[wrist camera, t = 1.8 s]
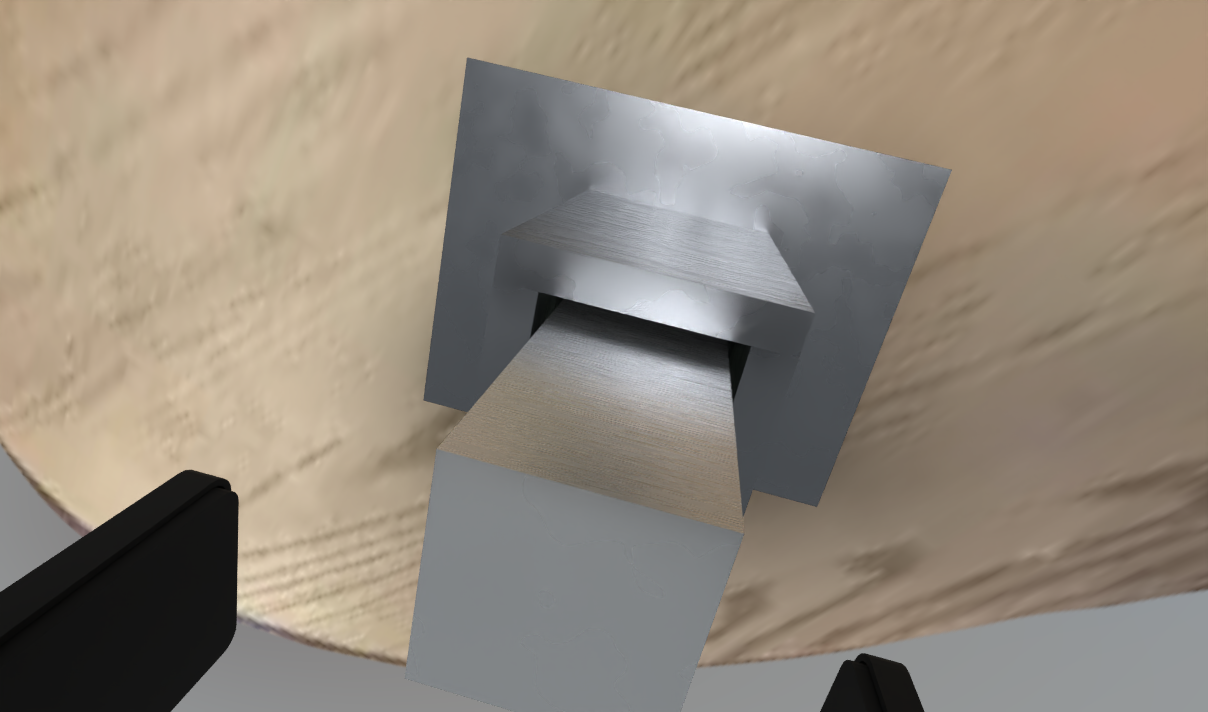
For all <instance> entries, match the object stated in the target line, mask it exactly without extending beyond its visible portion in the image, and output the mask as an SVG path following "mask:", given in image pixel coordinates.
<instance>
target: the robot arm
mask: <svg viewBox="0 0 1208 712" xmlns="http://www.w3.org/2000/svg"><path fill="white" fill-rule="evenodd" d="M238 504H239V501H238V495H237V494H236V493H235V492H233V491H231V485H230V483H229V481H228V480H226V479H223V478H220V477H216V476H212V475H209V474H205V473H201V472H198V471H194V470H185V471H183V472H181V473H179V474H177V475H176V476H174V477H173V478H171V479H170V480H168V481H167V482H165V483H164V484H162V485H161V486H159V487H158V488H156V489H155V490H153V491H152V492H150V493H149V494H147V495H146V496H144V497H143V498H141V499H140V500H138V501H137V502H135V503H134V504H132V505H131V506H129V507H128V508H126V509H125V510H123V511H122V512H120V513H119V514H117V515H116V516H114V517H113V518H111V519H110V520H108V521H107V522H105V523H104V524H102V525H101V526H99V527H97V528H96V529H94V530H93V531H91V532H90V533H88V534H87V535H85V536H84V537H82V538H81V539H79V540H78V541H76V542H75V543H73V544H72V545H70V546H69V547H67V548H66V549H64V550H63V551H61V552H60V553H59V554H57V555H55V556H54V557H52V558H51V559H49V560H48V561H46V562H45V563H43V564H42V565H40V566H39V567H37V568H36V569H34V570H33V571H31V572H30V573H28V574H27V575H25V576H24V577H22V578H21V579H19V580H18V581H16V582H15V583H13V584H12V585H10V586H9V587H7V588H6V589H4V590H3V591H1V592H0V712H171V711H172V710H173V708H174V707H175V706H176V705H177V704H178V703H179V702H180V701H181V699H182V698H183V697H184V696H185V695H186V694H187V693H188V692H189V691H190V690H191V688H192V687H193V686H194V685H195V684H196V682H198V681H199V680H200V678H201V677H202V676H203V675H204V674H205V673H206V672H207V671H208V669H210V667H211V666H212V665H213V664H214V663H215V662H216V661H217V660H218V659H219V657H220V656H221V655H222V654H223V653H224V652H225V650H226V649H227V648H228V646H229V645H230V643H231V641H232V639H233V637H234V634H235V630H236V621H237V562H238ZM820 712H924V710H923V707H922V705H921V702H920V699H919V697H918V694H917V692H916V689H915V687H914V685H913V682H912V679H911V677H910V674H909V672H908V670H907V668H906V667H905V666H904V665H903V664H901V663H898V662H894V661H891V660H887V659H883V658H880V657H876V656H872V655H869V654H865V653H864V654H863V653H862V654H860V655H858V656H857V658H856V659H855V661H851V660H846V661H844V662H843V664H842V666H841V668H840V670H839V672H838V674H837V676H836V679H835V681H834V683H833V685H832V687H831V689H830V692H829V694H828V696H827V698H826V700H825V702H824V705H823V707H822V709H821V711H820Z"/></svg>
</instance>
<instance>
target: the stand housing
mask: <svg viewBox="0 0 1208 712" xmlns="http://www.w3.org/2000/svg"><path fill="white" fill-rule="evenodd" d="M951 171H952V170H950V169H946V168H942V167H937V166H933V165H929V164H924V163H920V162H916V161H911V160H907V159H903V158H898V157H894V156H890V155H886V154H881V153H877V152H873V151H868V150H864V149H860V148H855V147H851V146H847V145H842V144H838V143H834V142H829V141H825V140H821V139H817V138H812V137H808V136H804V135H799V134H795V133H791V132H786V131H782V130H778V129H773V128H769V127H765V126H760V125H756V124H752V123H747V122H743V121H739V120H735V119H730V118H726V117H722V116H717V115H713V114H709V113H704V112H700V111H696V110H691V109H687V108H683V107H678V106H674V105H670V104H666V103H661V102H657V101H653V100H648V99H644V98H640V97H635V96H631V95H627V94H622V93H618V92H614V91H609V90H605V89H601V88H597V87H592V86H588V85H584V84H579V83H575V82H571V81H566V80H562V79H558V78H553V77H549V76H545V75H540V74H536V73H532V72H528V71H523V70H519V69H515V68H510V67H506V66H502V65H497V64H493V63H489V62H484V61H480V60H476V59H471V58H467V63H466V71H465V78H464V86H463V94H462V102H461V110H460V118H459V126H458V133H457V141H456V149H455V157H454V165H453V173H452V181H451V188H450V196H449V204H448V212H447V220H446V228H445V236H444V243H443V251H442V259H441V267H440V275H439V283H438V291H437V298H436V306H435V314H434V322H433V330H432V338H431V346H430V353H429V361H428V369H427V377H426V385H425V393H424V400H425V401H428V402H432V403H436V404H439V405H443V406H447V407H450V408H454V409H458V410H461V411H465V412H468V411H469V410H470V409H471V408H472V407H473V406H474V404H475V403H476V402H477V401H478V400H479V398H480V397H481V396H482V395H483V394H484V393H485V391H486V390H487V389H488V388H489V387H490V386H491V384H492V383H493V382H494V381H495V380H496V378H497V377H498V376H499V375H500V374H501V373H502V371H503V370H504V369H505V368H506V367H507V366H508V364H509V363H510V362H511V361H512V360H513V358H514V357H515V356H516V355H517V354H518V353H519V351H520V350H521V349H522V348H523V347H524V345H525V344H526V343H527V342H528V341H529V340H530V338H531V337H532V336H533V335H534V334H535V333H536V331H537V330H538V329H539V328H540V327H541V325H542V324H543V323H544V322H545V321H546V320H547V318H548V317H549V316H550V315H551V314H552V313H553V311H554V310H555V309H556V308H557V307H558V305H559V304H560V303H561V302H562V301H563V300H564V298H565V299H568V300H572V301H576V302H580V303H584V304H588V305H592V306H596V307H600V308H604V309H608V310H612V311H615V312H619V313H623V314H627V315H631V316H635V317H639V318H643V319H647V320H651V321H655V322H658V323H662V324H666V325H670V326H674V327H678V328H682V329H686V330H690V331H694V332H698V333H701V334H705V335H709V336H713V337H717V338H721V339H725V340H727V348H728V359H729V370H730V381H731V393H732V404H733V415H734V426H735V437H736V448H737V460H738V471H739V482H740V493H741V504H742V515H743V516H744V513H745V510H746V507H747V505H748V502H749V499H750V496H751V493H752V490H757V491H760V492H764V493H768V494H771V495H775V496H779V497H783V498H786V499H790V500H794V501H797V502H801V503H805V504H808V505H812V506H816V507H817V506H818V503H819V501H820V498H821V496H822V493H823V491H824V488H825V486H826V483H827V481H828V478H829V476H830V473H831V471H832V468H833V466H834V463H835V461H836V458H837V456H838V453H839V451H840V448H841V446H842V443H843V441H844V438H845V436H846V433H847V431H848V428H849V426H850V423H851V421H852V418H853V416H854V413H855V411H856V408H857V406H858V403H859V401H860V398H861V396H862V393H863V391H864V388H865V386H866V383H867V381H868V378H869V376H870V373H871V371H872V368H873V366H874V363H875V361H876V358H877V356H878V353H879V351H880V348H881V346H882V343H883V341H884V338H885V336H886V333H887V331H888V328H889V326H890V323H891V321H892V318H893V316H894V313H895V311H896V308H897V306H898V303H899V301H900V298H901V296H902V293H903V291H904V288H905V286H906V283H907V281H908V278H909V276H910V273H911V271H912V268H913V266H914V263H915V261H916V258H917V256H918V253H919V251H920V248H921V246H922V243H923V241H924V238H925V236H926V233H927V231H928V228H929V226H930V223H931V221H932V218H933V216H934V213H935V211H936V208H937V206H938V203H939V201H940V198H941V196H942V193H943V191H944V188H945V186H946V183H947V181H948V178H949V176H950V173H951Z"/></svg>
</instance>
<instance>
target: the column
mask: <svg viewBox="0 0 1208 712" xmlns="http://www.w3.org/2000/svg"><path fill="white" fill-rule="evenodd" d="M743 536H744V527H743V515H742V504H741V493H740V482H739V471H738V460H737V448H736V437H735V426H734V415H733V404H732V393H731V381H730V370H729V359H728V348H727V340H725V339H721V338H717V337H713V336H709V335H705V334H701V333H698V332H694V331H690V330H686V329H682V328H678V327H674V326H670V325H666V324H662V323H658V322H655V321H651V320H647V319H643V318H639V317H635V316H631V315H627V314H623V313H619V312H615V311H612V310H608V309H604V308H600V307H596V306H592V305H588V304H584V303H580V302H576V301H572V300H568V299H565V298H564V300H563V301H562V302H561V303H560V304H559V305H558V307H557V308H556V309H555V310H554V311H553V313H552V314H551V315H550V316H549V317H548V318H547V320H546V321H545V322H544V323H543V324H542V325H541V327H540V328H539V329H538V330H537V331H536V333H535V334H534V335H533V336H532V337H531V338H530V340H529V341H528V342H527V343H526V344H525V345H524V347H523V348H522V349H521V350H520V351H519V353H518V354H517V355H516V356H515V357H514V358H513V360H512V361H511V362H510V363H509V364H508V366H507V367H506V368H505V369H504V370H503V371H502V373H501V374H500V375H499V376H498V377H497V378H496V380H495V381H494V382H493V383H492V384H491V386H490V387H489V388H488V389H487V390H486V391H485V393H484V394H483V395H482V396H481V397H480V398H479V400H478V401H477V402H476V403H475V404H474V406H473V407H472V408H471V409H470V410H469V411H468V413H467V414H466V415H465V416H464V417H463V419H462V420H461V421H460V422H459V423H458V424H457V426H456V427H455V428H454V429H453V430H452V431H451V433H450V434H449V435H448V436H447V437H446V439H445V440H444V441H443V442H442V443H441V444H440V446H439V447H438V448H437V450H436V457H435V464H434V472H433V479H432V486H431V493H430V500H429V507H428V514H427V522H426V529H425V536H424V543H423V550H422V557H421V565H420V572H419V579H418V586H417V593H416V600H415V608H414V615H413V622H412V629H411V636H410V643H409V651H408V658H407V665H406V672H405V679H408V680H411V681H415V682H418V683H421V684H424V685H428V686H431V687H434V688H438V689H441V690H444V691H448V692H451V693H455V694H458V695H461V696H464V697H468V698H471V699H474V700H477V701H481V702H484V703H487V704H491V705H494V706H497V707H501V708H504V709H507V710H510V711H514V712H681V709H682V706H683V703H684V701H685V698H686V695H687V692H688V689H689V687H690V683H691V681H692V678H693V675H694V673H695V670H696V667H697V664H698V661H699V659H700V656H701V653H702V650H703V648H704V645H705V642H706V639H707V636H708V634H709V631H710V628H711V625H712V622H713V620H714V617H715V614H716V611H717V608H718V606H719V603H720V600H721V597H722V594H723V592H724V589H725V586H726V583H727V580H728V578H729V575H730V572H731V569H732V566H733V564H734V561H735V558H736V555H737V552H738V550H739V547H740V544H741V541H742V538H743Z"/></svg>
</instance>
